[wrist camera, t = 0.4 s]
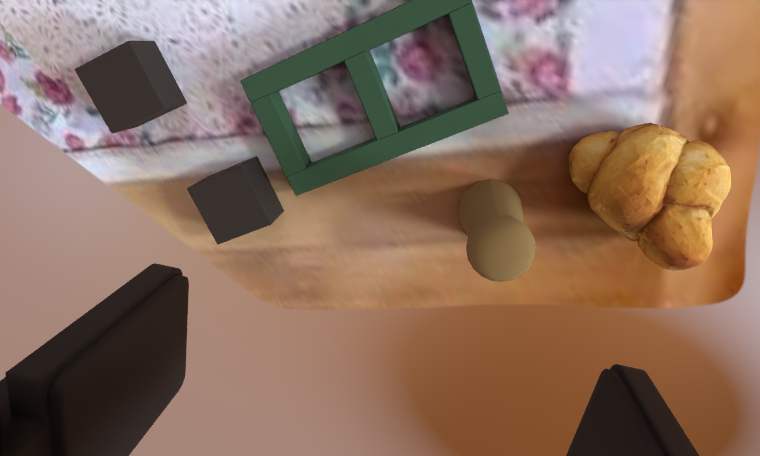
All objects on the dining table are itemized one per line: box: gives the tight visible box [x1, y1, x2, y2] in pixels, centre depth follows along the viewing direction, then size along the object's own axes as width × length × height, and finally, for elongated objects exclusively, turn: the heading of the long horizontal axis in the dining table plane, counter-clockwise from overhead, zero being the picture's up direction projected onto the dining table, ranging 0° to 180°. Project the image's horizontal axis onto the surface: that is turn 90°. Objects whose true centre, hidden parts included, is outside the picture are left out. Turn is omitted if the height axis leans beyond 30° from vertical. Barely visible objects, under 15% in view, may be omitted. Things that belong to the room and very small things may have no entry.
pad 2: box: [187, 156, 284, 244], centre depth 47 cm, size 6×6×4 cm
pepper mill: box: [458, 179, 536, 282], centre depth 41 cm, size 6×6×11 cm
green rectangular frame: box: [241, 0, 509, 196], centre depth 42 cm, size 11×20×2 cm, turn 113°
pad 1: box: [75, 41, 187, 133], centre depth 44 cm, size 6×6×4 cm
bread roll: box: [568, 123, 731, 271], centre depth 40 cm, size 13×10×8 cm
